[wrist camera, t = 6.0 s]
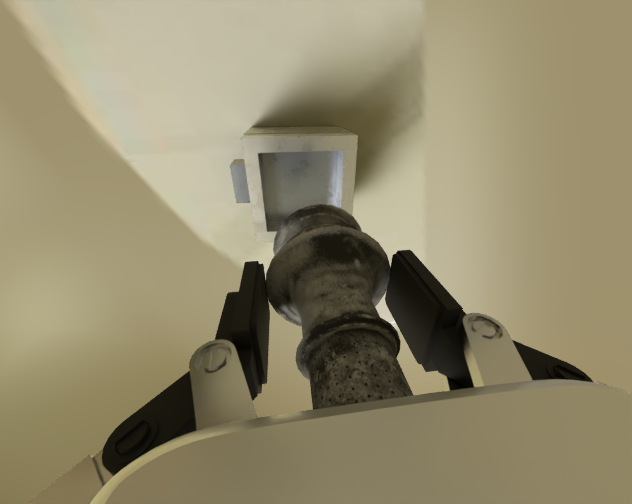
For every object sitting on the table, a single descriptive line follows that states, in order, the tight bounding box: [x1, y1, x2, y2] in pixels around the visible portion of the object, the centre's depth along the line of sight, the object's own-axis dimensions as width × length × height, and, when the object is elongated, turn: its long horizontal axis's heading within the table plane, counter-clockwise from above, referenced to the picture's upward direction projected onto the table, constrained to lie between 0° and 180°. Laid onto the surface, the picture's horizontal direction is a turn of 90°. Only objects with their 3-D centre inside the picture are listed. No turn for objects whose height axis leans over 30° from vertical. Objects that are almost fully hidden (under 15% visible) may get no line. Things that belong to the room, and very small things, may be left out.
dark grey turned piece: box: [266, 204, 413, 410], centre depth 10 cm, size 6×6×12 cm
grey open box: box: [230, 126, 358, 243], centre depth 28 cm, size 13×12×10 cm
